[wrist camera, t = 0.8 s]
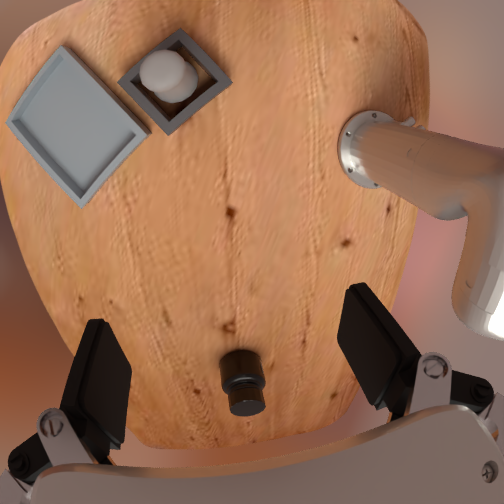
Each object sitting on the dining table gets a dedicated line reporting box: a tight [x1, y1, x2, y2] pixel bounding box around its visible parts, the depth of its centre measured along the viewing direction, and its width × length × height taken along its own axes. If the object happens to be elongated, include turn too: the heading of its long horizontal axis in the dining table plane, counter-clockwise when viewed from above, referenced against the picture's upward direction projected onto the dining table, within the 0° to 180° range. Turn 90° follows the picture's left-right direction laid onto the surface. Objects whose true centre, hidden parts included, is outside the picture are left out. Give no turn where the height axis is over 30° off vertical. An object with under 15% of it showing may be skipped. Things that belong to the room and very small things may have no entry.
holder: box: [117, 28, 233, 136], centre depth 28 cm, size 10×10×4 cm
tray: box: [5, 45, 152, 209], centre depth 28 cm, size 14×20×3 cm
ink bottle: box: [220, 351, 266, 416], centre depth 52 cm, size 10×9×12 cm
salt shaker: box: [139, 50, 198, 103], centre depth 25 cm, size 6×6×13 cm
